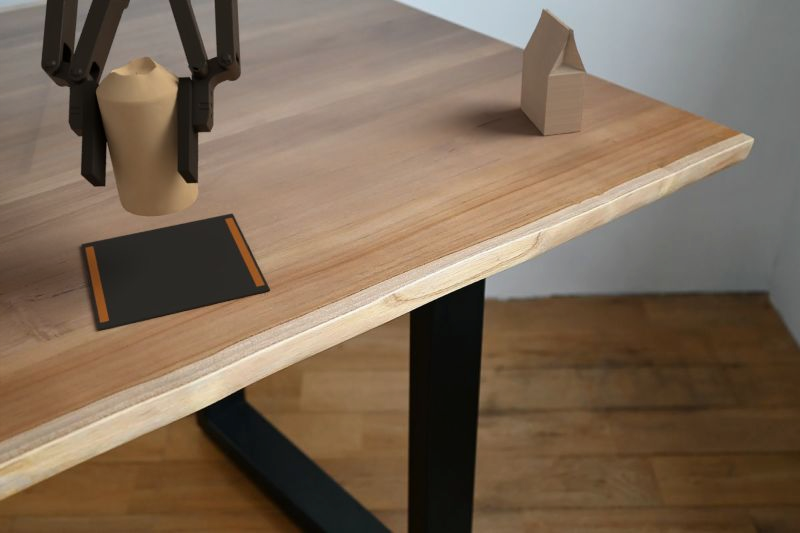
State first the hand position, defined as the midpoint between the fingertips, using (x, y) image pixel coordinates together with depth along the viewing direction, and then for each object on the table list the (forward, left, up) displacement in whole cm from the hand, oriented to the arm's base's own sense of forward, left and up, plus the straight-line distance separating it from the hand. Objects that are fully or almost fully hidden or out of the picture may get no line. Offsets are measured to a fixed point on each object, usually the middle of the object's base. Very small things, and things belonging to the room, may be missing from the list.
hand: (140, 178), depth 60 cm
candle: (-3, +1, -4) cm, 5 cm away
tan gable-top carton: (-15, +40, -10) cm, 44 cm away
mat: (-3, +1, -9) cm, 10 cm away
